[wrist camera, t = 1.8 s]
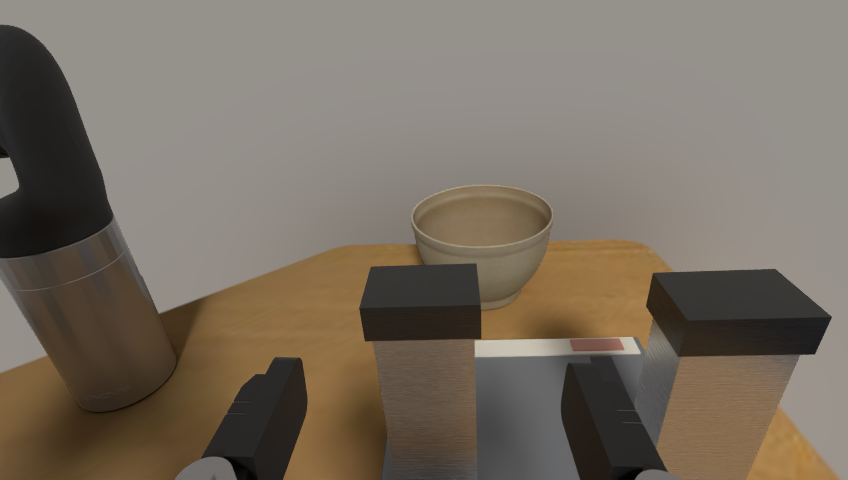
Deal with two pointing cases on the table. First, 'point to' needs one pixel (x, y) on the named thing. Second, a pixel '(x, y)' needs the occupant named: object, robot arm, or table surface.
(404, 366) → the lever
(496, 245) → the planter bowl
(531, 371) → the switch unit
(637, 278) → the table surface
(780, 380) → the lever
